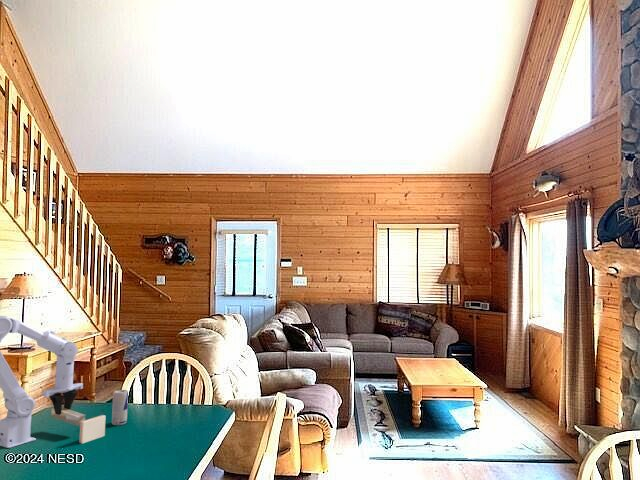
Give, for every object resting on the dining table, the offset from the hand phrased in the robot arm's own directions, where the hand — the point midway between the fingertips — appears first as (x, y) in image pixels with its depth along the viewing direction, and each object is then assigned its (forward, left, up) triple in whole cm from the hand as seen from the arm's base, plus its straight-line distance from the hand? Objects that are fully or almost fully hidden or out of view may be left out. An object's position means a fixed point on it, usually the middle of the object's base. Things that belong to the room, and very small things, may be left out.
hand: (62, 413), depth 178 cm
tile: (0, -16, -7) cm, 17 cm away
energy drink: (+17, -10, -7) cm, 21 cm away
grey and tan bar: (0, -3, -2) cm, 3 cm away
